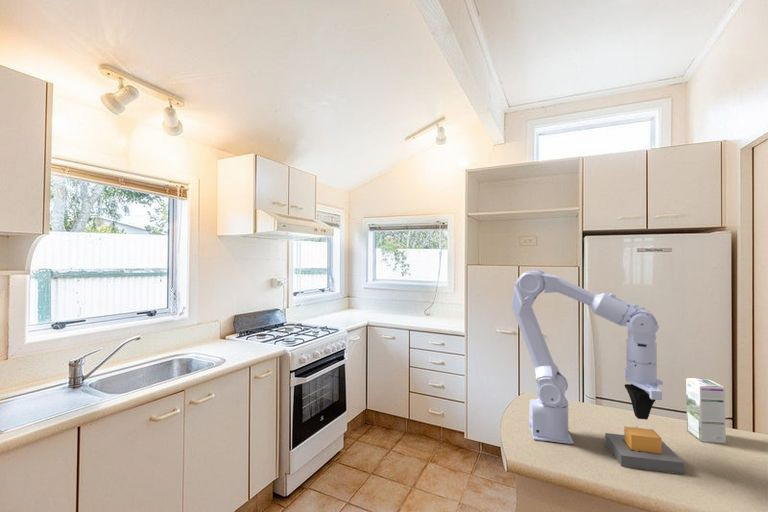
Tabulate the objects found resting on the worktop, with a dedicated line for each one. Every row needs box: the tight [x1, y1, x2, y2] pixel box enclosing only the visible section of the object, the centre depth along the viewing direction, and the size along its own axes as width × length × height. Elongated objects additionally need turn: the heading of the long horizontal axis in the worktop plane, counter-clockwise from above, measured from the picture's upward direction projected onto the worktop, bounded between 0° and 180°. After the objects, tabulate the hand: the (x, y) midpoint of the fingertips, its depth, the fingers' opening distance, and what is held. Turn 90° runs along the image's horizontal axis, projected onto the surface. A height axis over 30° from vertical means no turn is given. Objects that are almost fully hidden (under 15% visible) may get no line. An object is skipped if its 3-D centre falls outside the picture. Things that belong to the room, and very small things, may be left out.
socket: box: [604, 432, 685, 475], centre depth 82 cm, size 12×10×3 cm
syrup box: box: [685, 377, 727, 444], centre depth 91 cm, size 6×6×14 cm
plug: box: [623, 426, 662, 453], centre depth 82 cm, size 6×4×6 cm, turn 75°
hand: (641, 417), depth 82 cm, fingers closed
